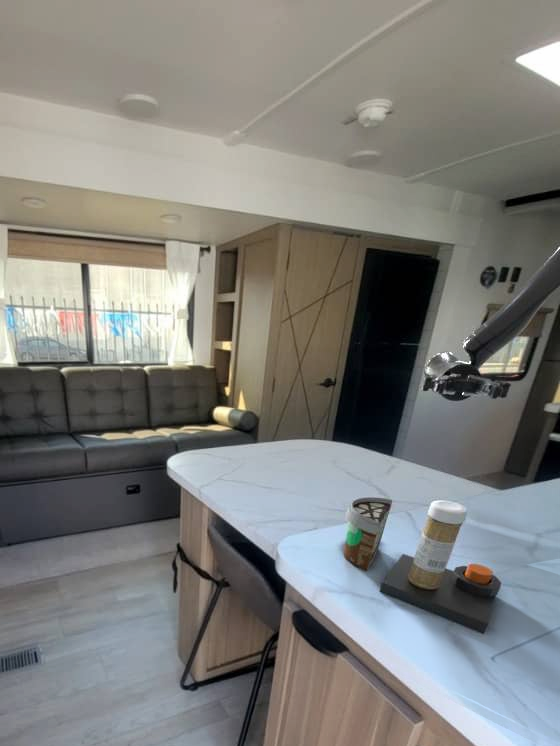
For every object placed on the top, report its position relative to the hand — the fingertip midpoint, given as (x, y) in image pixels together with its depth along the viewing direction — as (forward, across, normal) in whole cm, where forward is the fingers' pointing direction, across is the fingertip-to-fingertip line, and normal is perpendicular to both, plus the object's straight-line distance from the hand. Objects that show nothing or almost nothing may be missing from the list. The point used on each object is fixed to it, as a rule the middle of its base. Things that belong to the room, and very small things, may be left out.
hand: (468, 390), depth 75 cm
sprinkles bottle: (+28, -3, +26) cm, 38 cm away
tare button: (+25, +5, +25) cm, 36 cm away
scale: (+27, 0, +28) cm, 39 cm away
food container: (+20, -13, +28) cm, 37 cm away
